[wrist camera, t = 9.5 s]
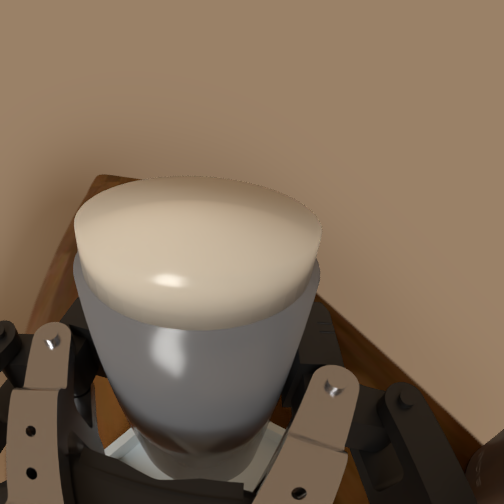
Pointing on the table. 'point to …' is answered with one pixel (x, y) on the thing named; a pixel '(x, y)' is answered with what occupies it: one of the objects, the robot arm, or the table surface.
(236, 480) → the glazed dish
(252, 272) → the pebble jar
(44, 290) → the table surface
